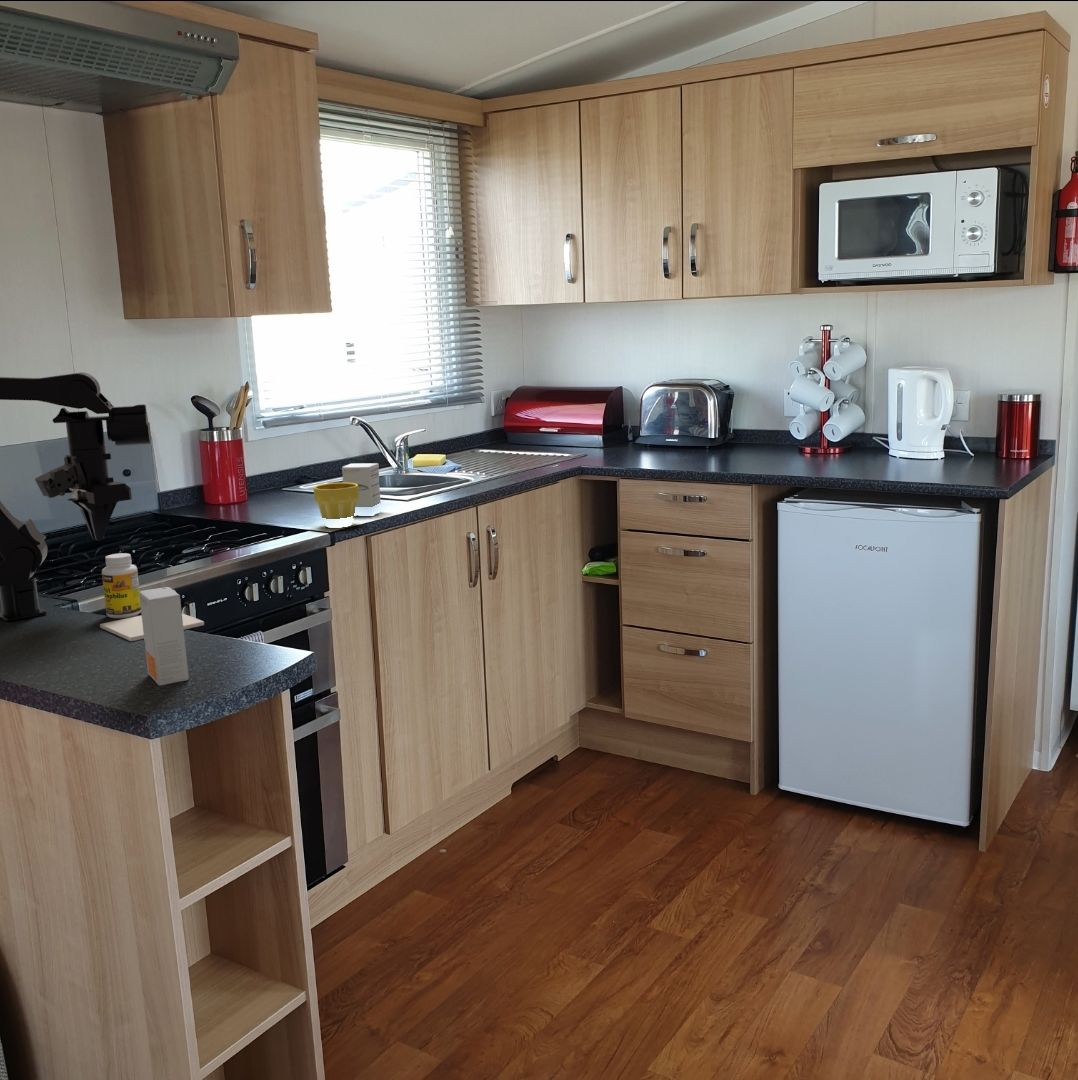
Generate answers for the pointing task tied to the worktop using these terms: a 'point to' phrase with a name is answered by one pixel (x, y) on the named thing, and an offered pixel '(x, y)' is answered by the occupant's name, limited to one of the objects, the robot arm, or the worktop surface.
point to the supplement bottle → (121, 586)
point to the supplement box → (364, 482)
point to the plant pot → (336, 499)
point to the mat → (141, 626)
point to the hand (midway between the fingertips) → (97, 539)
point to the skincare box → (164, 635)
